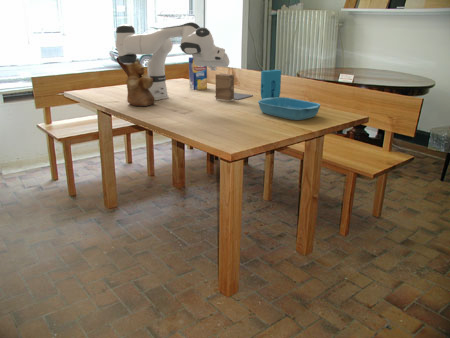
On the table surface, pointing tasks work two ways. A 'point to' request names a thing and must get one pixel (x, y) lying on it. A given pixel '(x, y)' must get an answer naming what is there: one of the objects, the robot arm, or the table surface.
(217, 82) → the walnut block
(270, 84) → the block
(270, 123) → the table surface
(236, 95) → the felt mat
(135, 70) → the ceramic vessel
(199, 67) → the cracker box
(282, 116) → the casserole dish
